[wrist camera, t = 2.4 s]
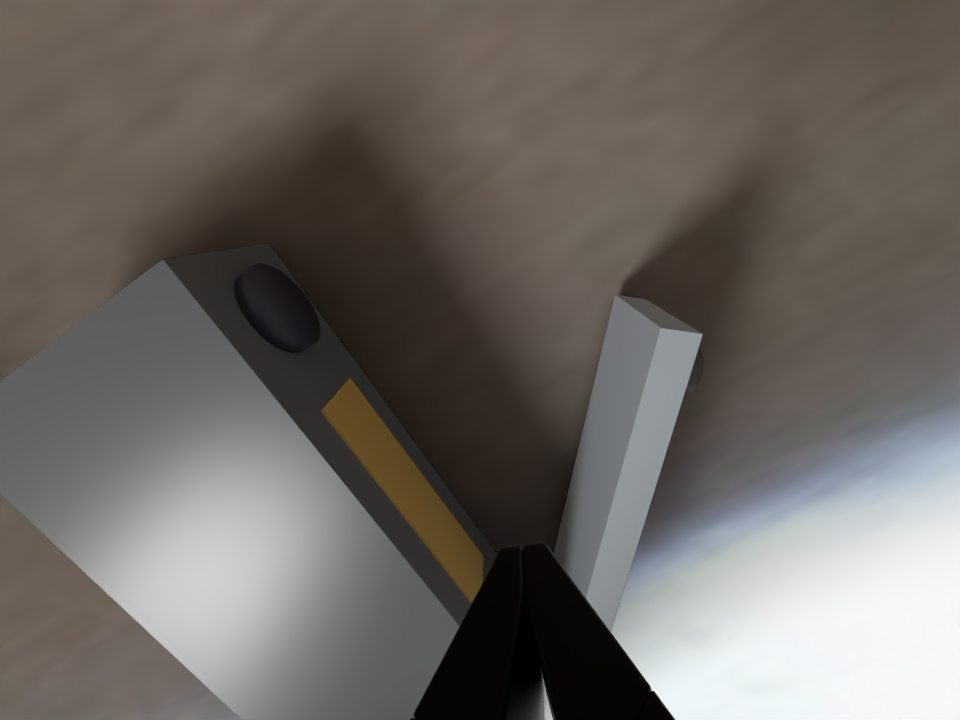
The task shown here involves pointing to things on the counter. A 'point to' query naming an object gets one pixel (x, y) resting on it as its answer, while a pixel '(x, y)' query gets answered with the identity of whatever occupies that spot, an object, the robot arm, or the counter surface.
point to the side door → (624, 446)
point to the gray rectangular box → (244, 492)
